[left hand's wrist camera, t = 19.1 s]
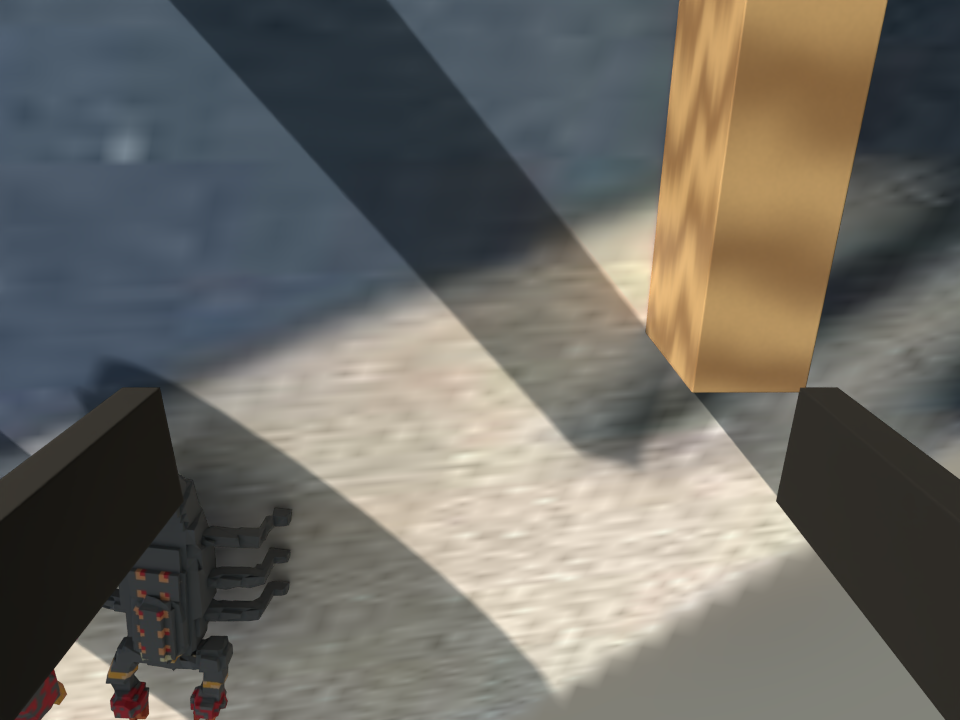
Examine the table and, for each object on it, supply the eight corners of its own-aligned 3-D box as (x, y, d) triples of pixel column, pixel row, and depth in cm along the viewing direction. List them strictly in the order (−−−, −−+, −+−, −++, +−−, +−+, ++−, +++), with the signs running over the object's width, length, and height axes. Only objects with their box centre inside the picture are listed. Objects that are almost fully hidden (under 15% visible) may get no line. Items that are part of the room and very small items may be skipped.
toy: (295, 393, 39) (153, 603, 22) (285, 692, 49) (182, 998, 32) (82, 366, 39) (-232, 562, 22) (115, 675, 48) (-83, 978, 31)
